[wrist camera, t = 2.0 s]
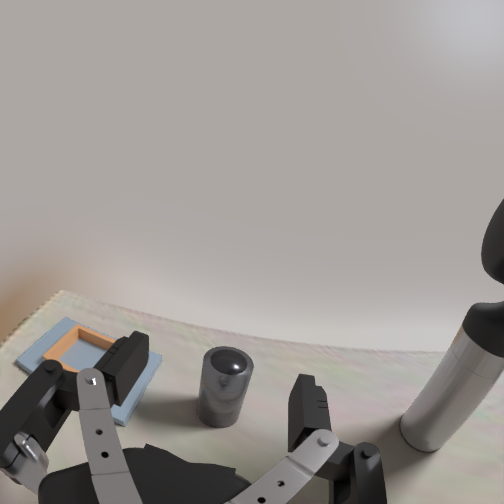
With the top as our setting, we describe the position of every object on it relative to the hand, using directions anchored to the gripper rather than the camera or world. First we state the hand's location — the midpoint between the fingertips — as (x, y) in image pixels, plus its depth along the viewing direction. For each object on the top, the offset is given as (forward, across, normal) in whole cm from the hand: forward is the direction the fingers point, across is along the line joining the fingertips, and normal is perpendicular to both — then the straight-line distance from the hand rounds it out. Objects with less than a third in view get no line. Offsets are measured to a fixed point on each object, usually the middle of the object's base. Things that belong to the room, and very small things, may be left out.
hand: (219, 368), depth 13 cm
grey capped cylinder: (+11, 0, +18) cm, 21 cm away
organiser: (+11, +18, +18) cm, 28 cm away
